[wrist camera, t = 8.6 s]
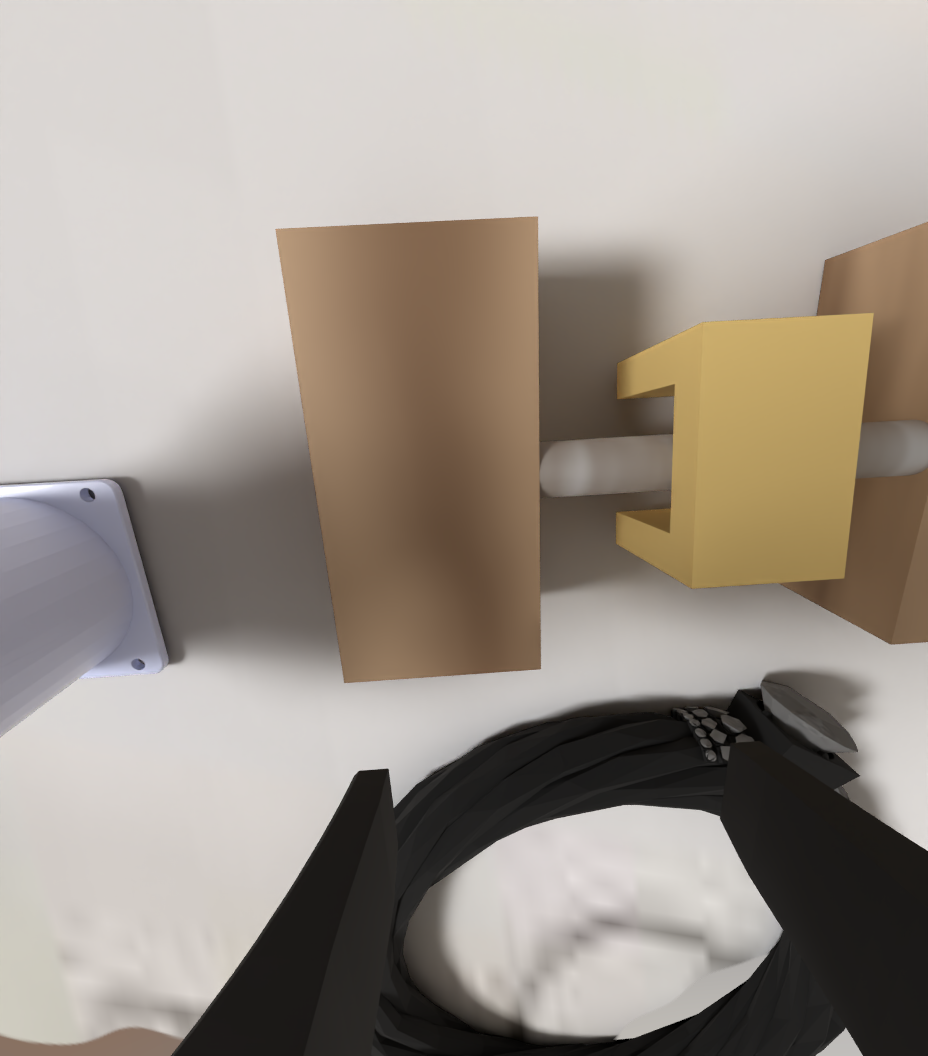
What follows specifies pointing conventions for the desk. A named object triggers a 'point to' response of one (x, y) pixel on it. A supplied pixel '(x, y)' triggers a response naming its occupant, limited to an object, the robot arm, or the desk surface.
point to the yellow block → (754, 448)
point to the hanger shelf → (536, 440)
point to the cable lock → (593, 784)
